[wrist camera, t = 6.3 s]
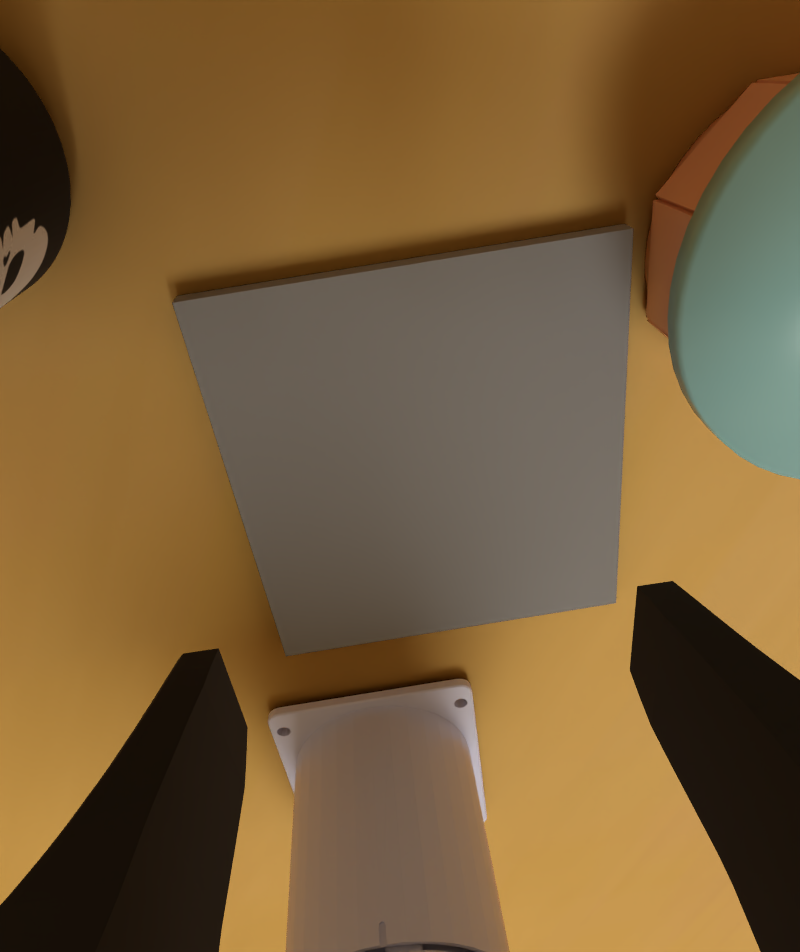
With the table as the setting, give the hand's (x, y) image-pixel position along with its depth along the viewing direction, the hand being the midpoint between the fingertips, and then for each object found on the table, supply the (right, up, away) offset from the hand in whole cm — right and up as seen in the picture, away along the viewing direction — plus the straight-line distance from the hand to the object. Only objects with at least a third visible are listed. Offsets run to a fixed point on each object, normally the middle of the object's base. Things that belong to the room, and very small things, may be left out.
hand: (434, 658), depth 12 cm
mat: (0, +3, +10) cm, 10 cm away
